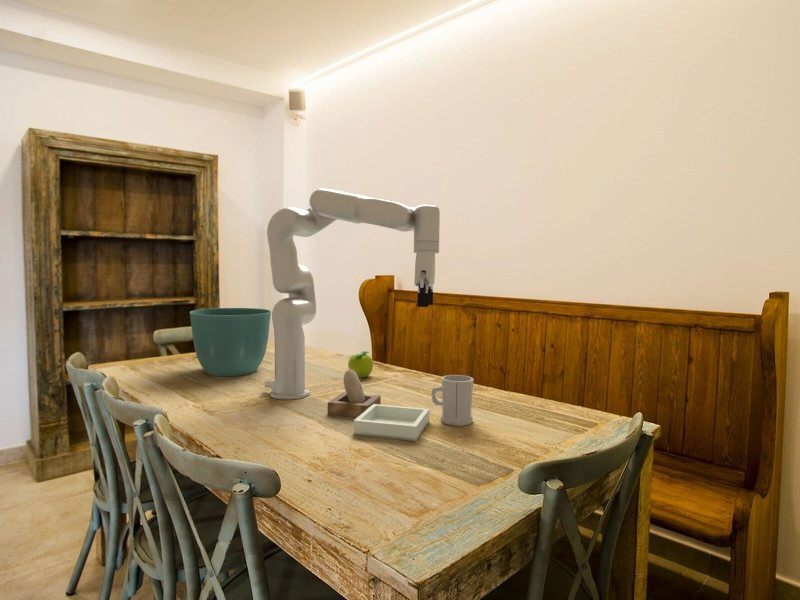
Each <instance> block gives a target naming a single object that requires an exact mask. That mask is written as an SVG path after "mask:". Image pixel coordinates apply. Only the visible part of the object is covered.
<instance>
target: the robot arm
mask: <svg viewBox="0 0 800 600" xmlns="http://www.w3.org/2000/svg"><path fill="white" fill-rule="evenodd" d="M309 206H310V207H309V208H307V209H306V210H305V209H300V208H297V207H284V208H281V209H279V210H277V211H276V212H275V213H274V214H273V215H272V216H271V217H270V219H269V222H268V224H267V229H266V235H267V243H268V248H269V259H270V261H269V262H270V268H271V269H270V271H271V278H272V279H271V280H272V285H273V288H274V289H275V290H276V291H277V292H279V294H288V297H285V298H282V299H280V300H278V301H277V302H276V303H275V304H274V305H273V308H272V311H271V319H272V325H273V333H274V334H273V335H274V380H273V381H272V380H265V382H264V388H270V389H271V390H270V392H269V397H270V398H273V399H276V400H285V401H287V400H288V401H289V400H298V399H300V400H301V399H303V398H306V397H308V396H309V395H310V392H311V391H310V390H309V389H308V388H306V387H305V386H306V383H305V382H306V339H305V333H304V329H303V326H304V325H308V324H310V323H312V321H313V320H314V319H315V317H316V314H317V301H316V292H315V291H316V290H315V283H314V278H313V275H312V273H311V271H310V269H308V267H306V266H305V265H303V264H299V259H298V250H297V247H296V243H295V242H294V236H297V237H302V238H308V237H311V236H314V235H315V234H317V233H319V232H321V231H322V230H323V229H325V228H327V227H328V226H330V225H331V224H333V223H335V221H337V220H340V221H343V222H344V221H345V222H347V223H353V224H369V225H373V226H378V227H383V228H388V229H392V230H397V231H399V232H402V233H403V232H404V233H406V232H413V253H414V254H415V263H414V280H413V281H414V282H413V285H414V286H415V287H418V288H417V296H416V297H417V298H416V299H417V303H416V304H417V307H418V308H428V307H429V306H432V305H433V304H434V287H433V286H434V285H435V280H436V279H435V276H436V254H440V221H441V220H440V219H441V218H440V217H441V215H440V214H441V213H440V212H441V211H440V208H439V206H436V205H431V204H429V205H428V204H422V205H418V206H416V207H409V206H407V205H405V204H403V203H400V202H396V201H395V202H394V201H392V200H391V201H390V200H385V199H379V198H374V197H369V196H365V195H360V194H354V193H350V192H344V191H339V190H336V189H335V190H334V189H330V188H329V189H328V188H319V189H316V190H314V191H313V192H312V193H311V195H310V196H309Z"/></svg>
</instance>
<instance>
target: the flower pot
mask: <svg viewBox="0 0 800 600" xmlns="http://www.w3.org/2000/svg"><path fill="white" fill-rule="evenodd" d="M271 317H272V311H271V310H270V309H266V308H265V309H264V308H251V307H250V308H249V307H219V308H218V307H217V308H202V309H195V310H191V311H189V318H190V324H191V325H190V326H191V334H192V340H193V341H192V342H193V346H194V351H195V355H196V358H197V359H198V362H199V364H200V366H201V368H202V369H203V370H204V371H205V373H206V374H207V375H210V376H213V377H214V376H217V377H237V375H238V376H244V374H245V375H248V374H253V373H255V372H256V371H257V370H258V369H259V367H260V365H261V364H262V362H263V361H264V358H265V355H266V352H267V347H268V342H269V341H268V340H269V334H270V333H269V332H270V323H271ZM254 371H255V372H254ZM252 372H253V373H252Z"/></svg>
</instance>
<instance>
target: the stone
mask: <svg viewBox="0 0 800 600" xmlns="http://www.w3.org/2000/svg"><path fill="white" fill-rule="evenodd" d="M343 384H344V389H345V393H347V396H348V398H349V401H350V402H353V403H365V396H364V394H365V392H364V390H363V386H362V383H361V381H360V378H358V376H357V374H356V372H355V371H354V370H351V369H350V370H349V369H348V370H346V371H345V373H344V375H343Z"/></svg>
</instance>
